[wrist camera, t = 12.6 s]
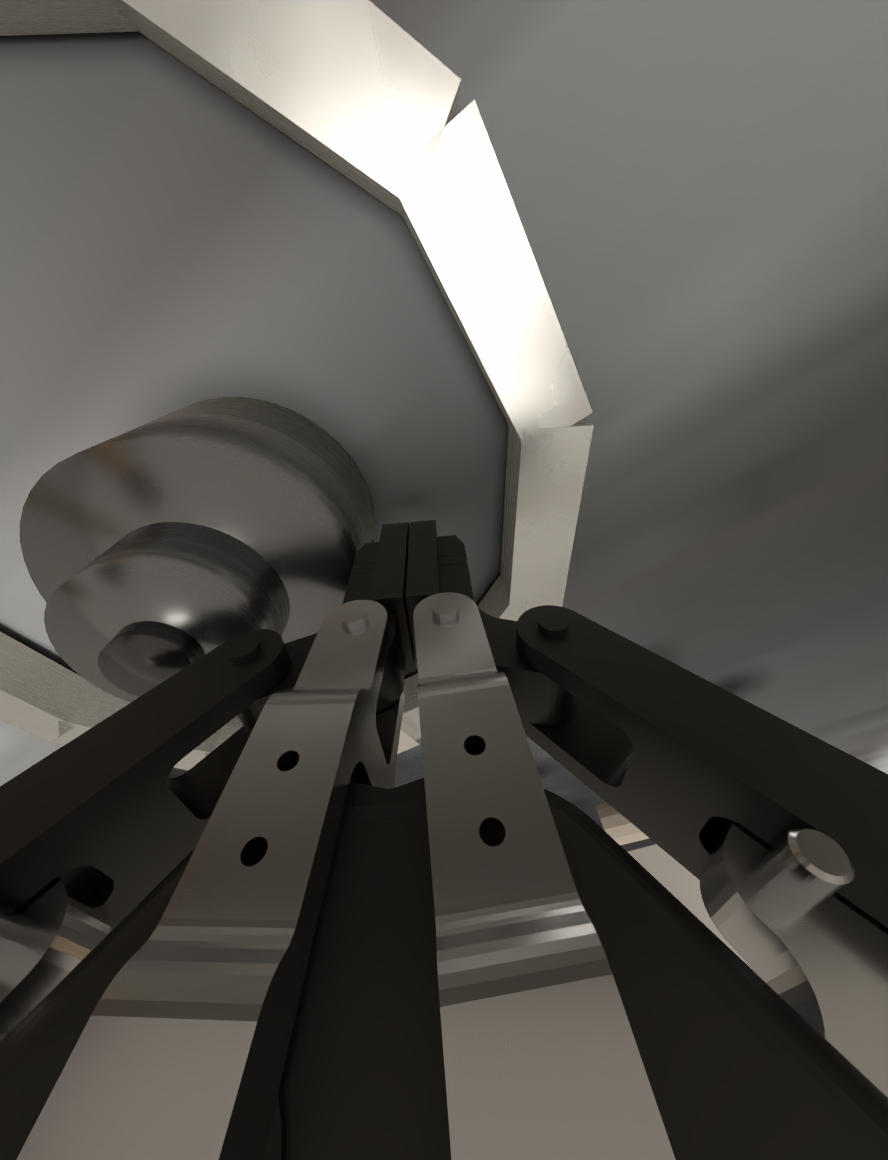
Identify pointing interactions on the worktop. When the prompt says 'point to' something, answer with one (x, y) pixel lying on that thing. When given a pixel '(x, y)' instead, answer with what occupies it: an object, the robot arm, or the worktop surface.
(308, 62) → the ring
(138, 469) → the cover
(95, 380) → the worktop surface
